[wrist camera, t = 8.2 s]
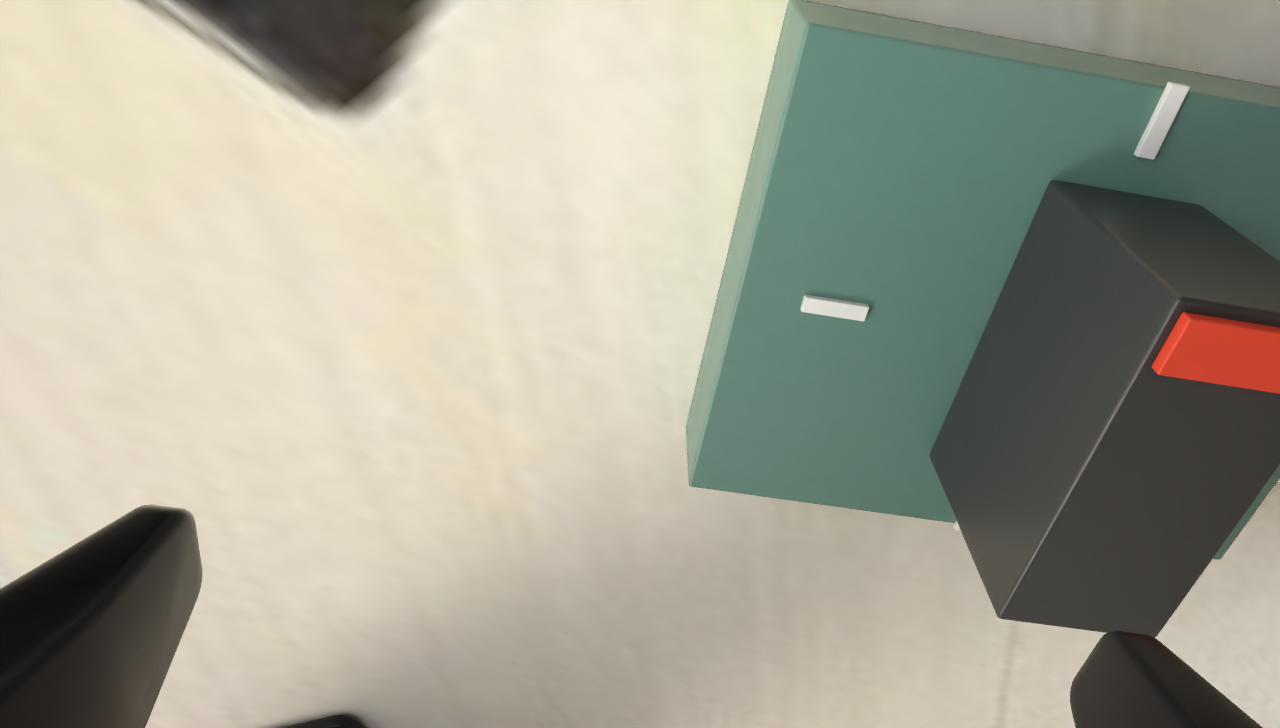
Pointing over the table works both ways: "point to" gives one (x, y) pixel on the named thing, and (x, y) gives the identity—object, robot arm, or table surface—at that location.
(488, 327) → the table surface
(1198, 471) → the block
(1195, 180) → the green flat block
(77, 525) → the table surface
